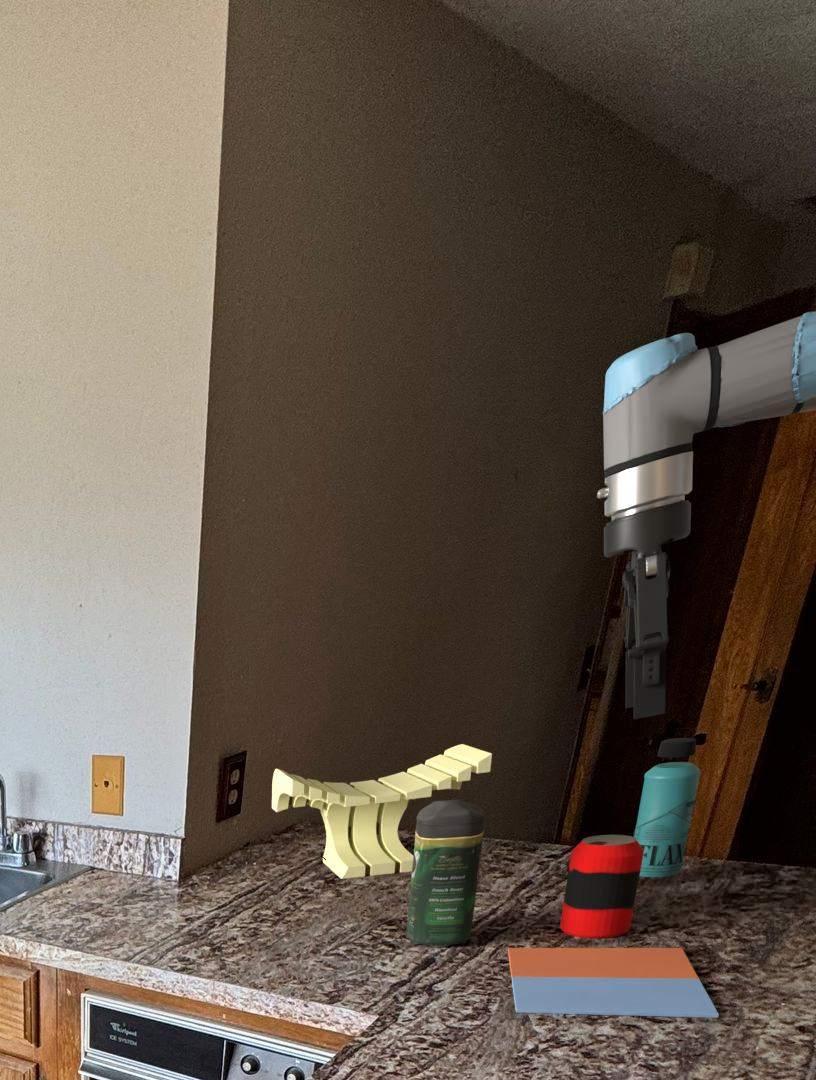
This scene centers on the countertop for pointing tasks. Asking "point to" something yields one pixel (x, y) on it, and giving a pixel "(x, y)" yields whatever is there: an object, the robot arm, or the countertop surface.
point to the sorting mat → (608, 982)
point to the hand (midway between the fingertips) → (644, 711)
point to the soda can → (601, 886)
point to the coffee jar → (445, 873)
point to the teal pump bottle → (667, 809)
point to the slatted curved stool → (374, 809)
